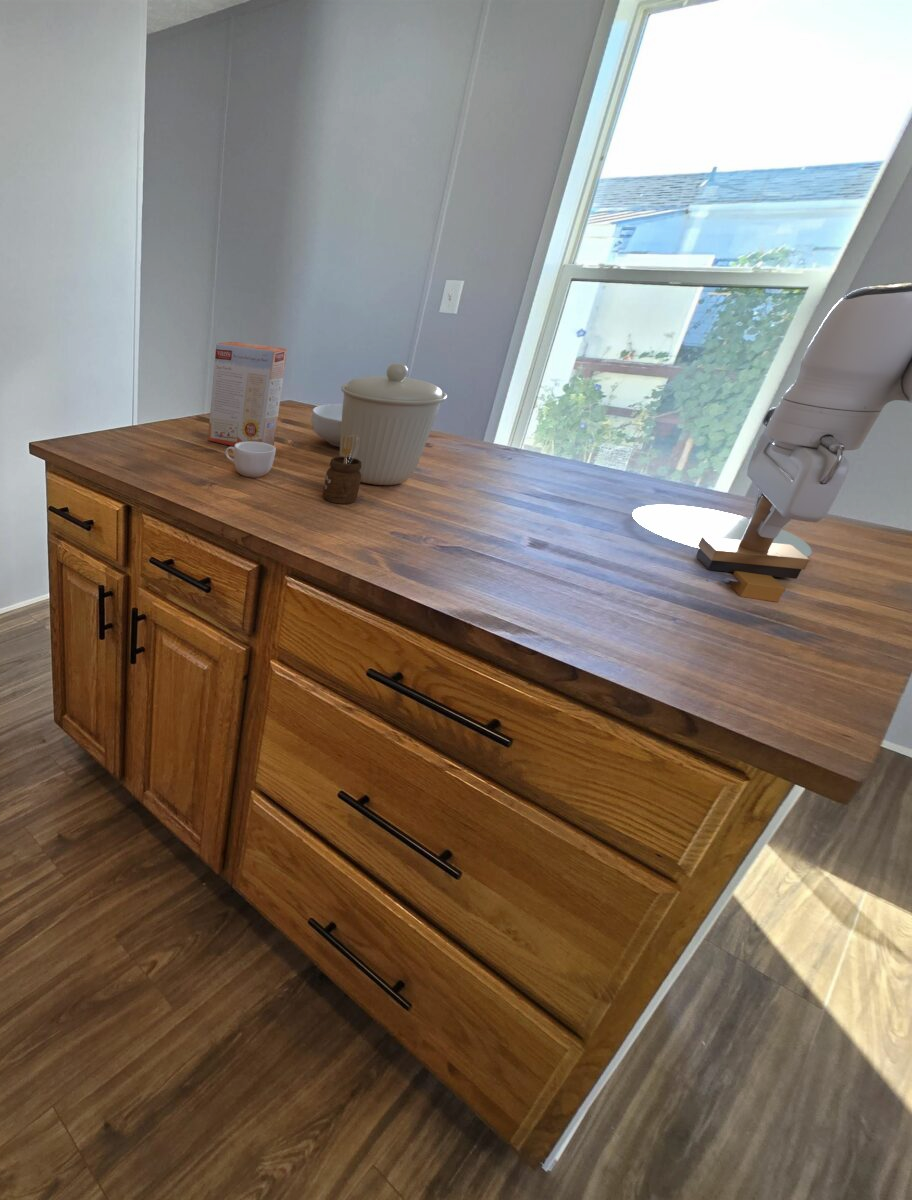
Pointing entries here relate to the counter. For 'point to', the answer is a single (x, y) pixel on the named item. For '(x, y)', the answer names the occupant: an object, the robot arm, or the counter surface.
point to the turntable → (702, 525)
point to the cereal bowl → (328, 422)
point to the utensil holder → (343, 477)
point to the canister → (388, 423)
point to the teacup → (252, 458)
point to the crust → (757, 586)
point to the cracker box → (246, 393)
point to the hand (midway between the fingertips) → (761, 530)
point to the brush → (752, 551)
